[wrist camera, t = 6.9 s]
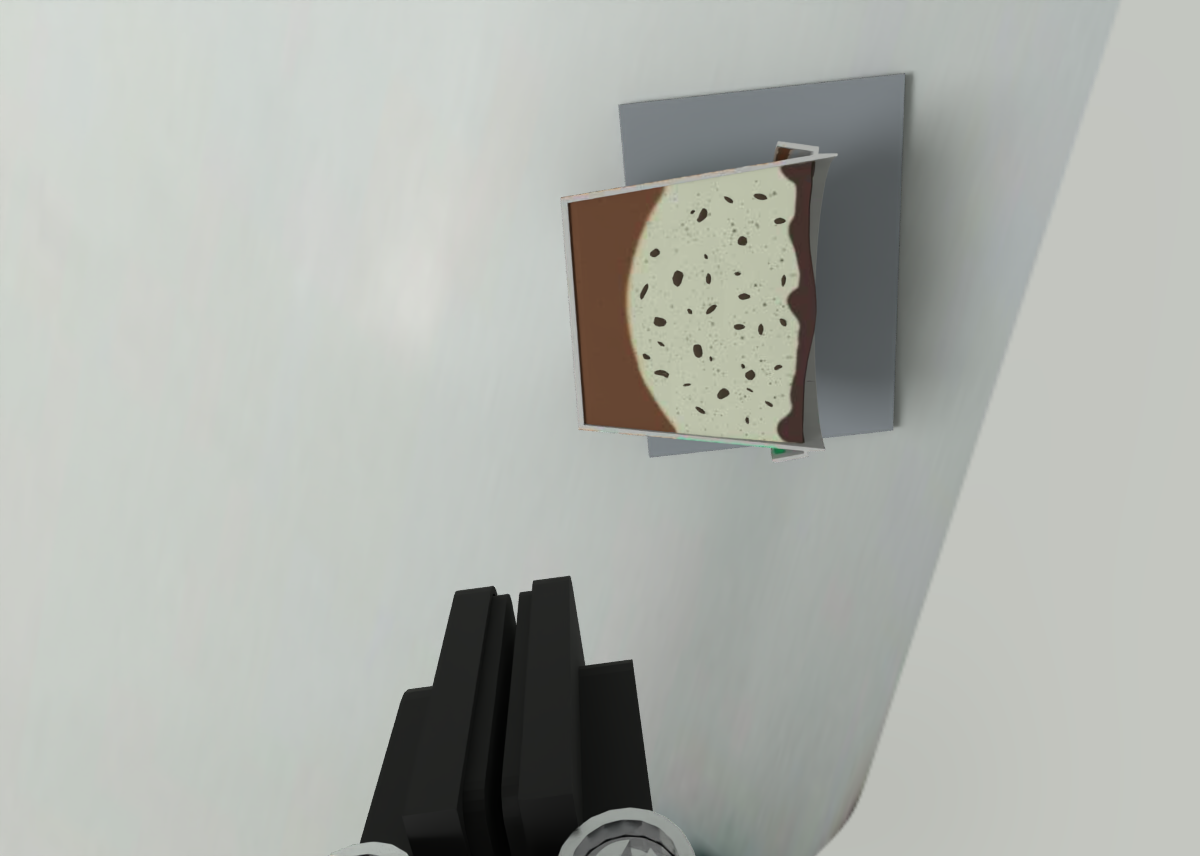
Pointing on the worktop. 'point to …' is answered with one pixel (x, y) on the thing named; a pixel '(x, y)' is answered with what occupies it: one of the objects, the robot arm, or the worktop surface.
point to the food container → (700, 304)
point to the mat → (846, 230)
